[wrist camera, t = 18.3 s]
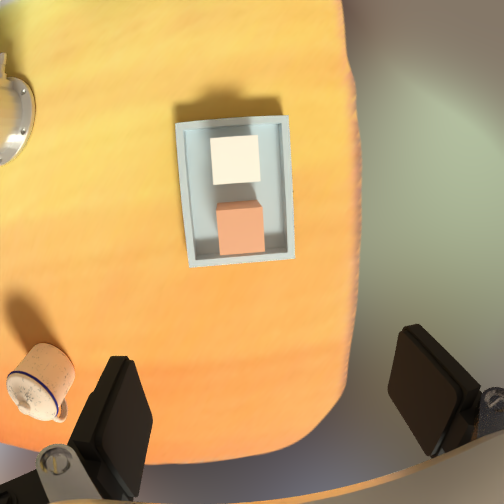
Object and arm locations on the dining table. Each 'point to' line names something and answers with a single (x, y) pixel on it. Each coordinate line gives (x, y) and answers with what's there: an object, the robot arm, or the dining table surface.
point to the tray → (236, 187)
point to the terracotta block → (240, 227)
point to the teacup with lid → (42, 383)
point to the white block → (235, 159)
